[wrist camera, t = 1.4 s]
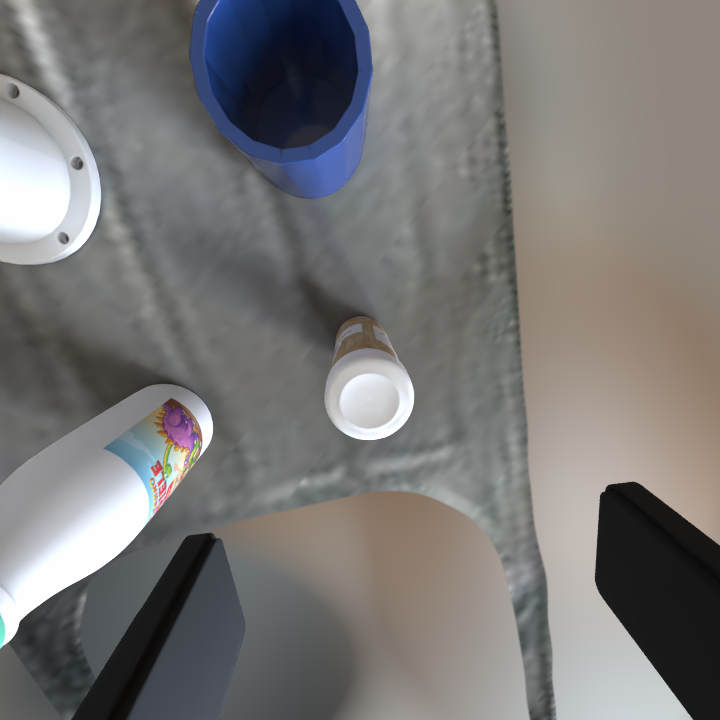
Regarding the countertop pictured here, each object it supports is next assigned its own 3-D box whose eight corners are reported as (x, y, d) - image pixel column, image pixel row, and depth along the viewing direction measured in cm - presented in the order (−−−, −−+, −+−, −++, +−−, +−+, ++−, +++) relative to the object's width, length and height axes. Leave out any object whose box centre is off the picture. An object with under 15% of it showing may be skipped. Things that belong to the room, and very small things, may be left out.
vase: (263, 205, 27) (214, 173, 17) (238, 78, 25) (168, -39, 15) (370, 190, 27) (381, 150, 17) (356, 61, 25) (359, -67, 15)
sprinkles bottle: (333, 317, 30) (319, 360, 17) (387, 314, 30) (415, 354, 17) (337, 368, 31) (327, 445, 18) (388, 365, 31) (416, 440, 18)
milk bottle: (128, 452, 32) (-194, 730, 13) (128, 375, 30) (-254, 568, 11) (213, 464, 33) (20, 746, 14) (218, 388, 31) (1, 595, 12)
